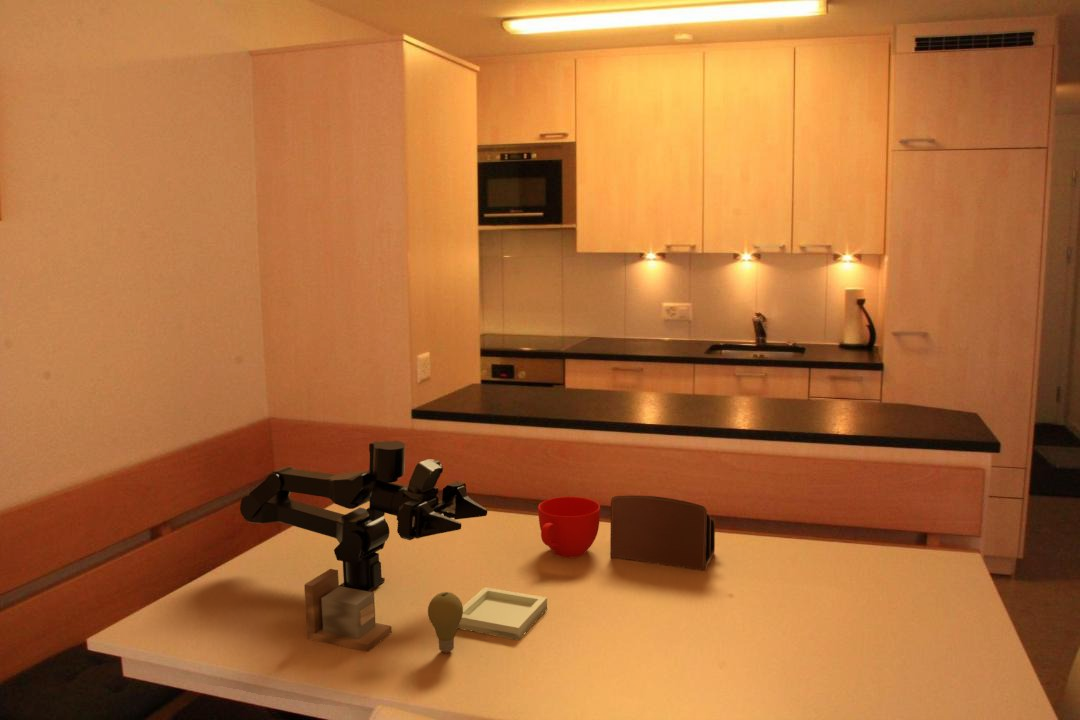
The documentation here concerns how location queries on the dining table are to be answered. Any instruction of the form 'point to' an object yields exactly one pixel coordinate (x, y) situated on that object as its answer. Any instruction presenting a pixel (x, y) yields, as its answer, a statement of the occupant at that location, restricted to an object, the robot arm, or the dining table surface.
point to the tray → (502, 612)
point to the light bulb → (445, 618)
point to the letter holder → (661, 531)
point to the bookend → (341, 614)
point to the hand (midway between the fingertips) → (474, 519)
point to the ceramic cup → (569, 525)
